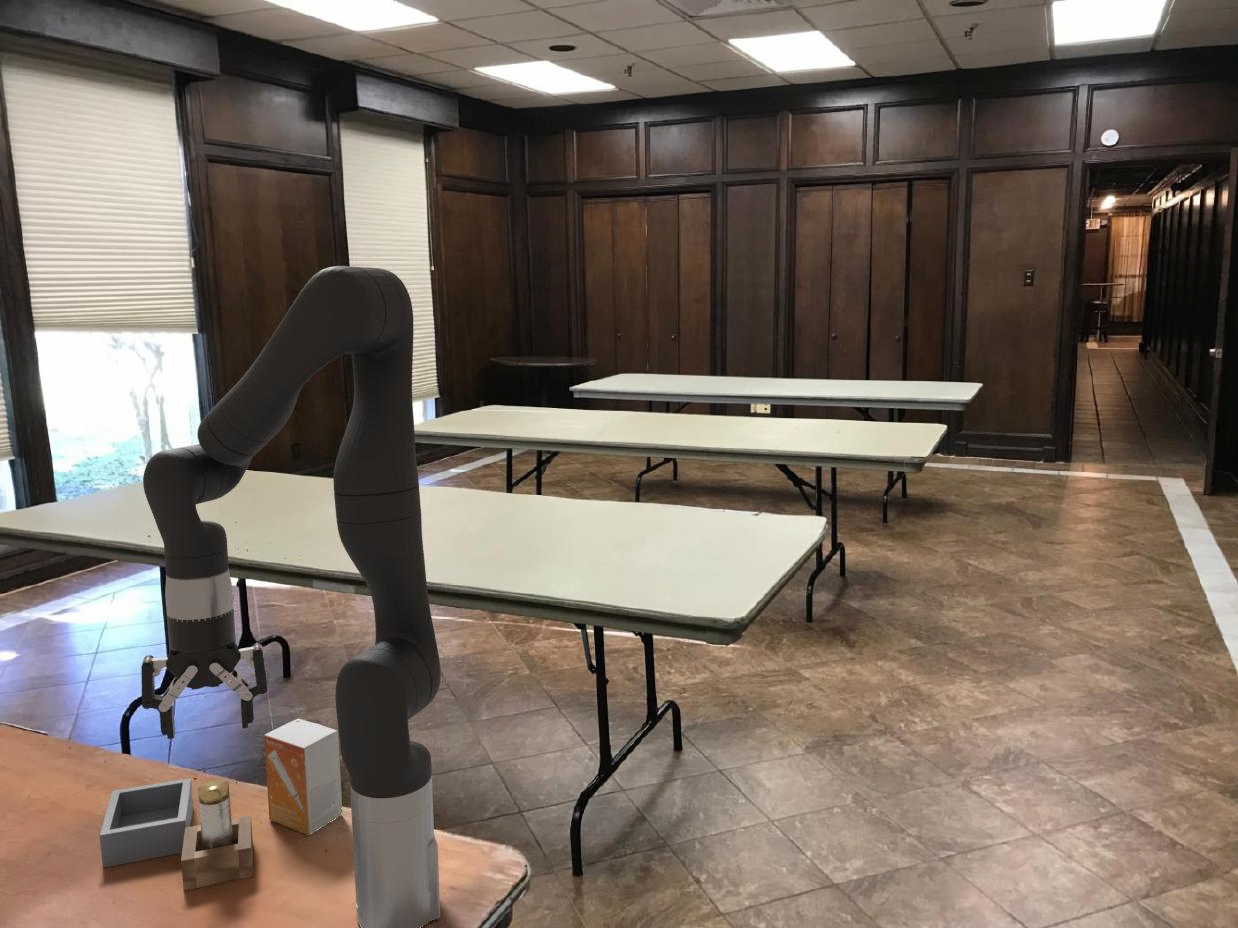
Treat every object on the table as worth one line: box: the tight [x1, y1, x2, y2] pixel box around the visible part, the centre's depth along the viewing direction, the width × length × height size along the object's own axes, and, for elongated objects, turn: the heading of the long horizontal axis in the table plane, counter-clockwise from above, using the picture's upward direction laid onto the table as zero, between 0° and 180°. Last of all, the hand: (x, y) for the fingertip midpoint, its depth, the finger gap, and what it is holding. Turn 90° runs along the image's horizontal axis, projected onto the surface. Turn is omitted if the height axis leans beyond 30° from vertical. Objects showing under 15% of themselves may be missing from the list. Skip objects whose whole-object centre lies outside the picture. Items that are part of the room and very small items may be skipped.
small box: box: [263, 718, 343, 836], centre depth 131 cm, size 8×6×13 cm
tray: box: [99, 777, 194, 869], centre depth 128 cm, size 10×12×4 cm
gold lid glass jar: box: [197, 779, 233, 850], centre depth 120 cm, size 4×4×11 cm
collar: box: [180, 815, 254, 891], centre depth 121 cm, size 8×8×4 cm
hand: (209, 730), depth 118 cm, fingers open, 8 cm apart
